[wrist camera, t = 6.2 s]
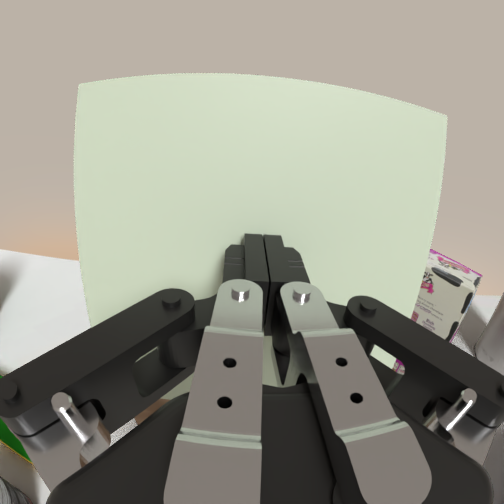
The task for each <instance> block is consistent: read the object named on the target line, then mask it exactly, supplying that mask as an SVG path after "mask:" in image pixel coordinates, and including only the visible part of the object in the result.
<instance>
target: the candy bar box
mask: <svg viewBox="0 0 504 504" xmlns="http://www.w3.org/2000/svg"><path fill="white" fill-rule="evenodd" d="M481 278H482V275H481V274H479V273H477V272H475V271H473V270H471V269H469V268H467V267H466V266H464V265H462V264H460V263H458V262H456V261H454V260H452V259H450V258H448V257H446V256H444V255H442V254H440V253H438V252H436V251H434V250H432V249H430V252H429V256H428V260H427V264H426V268H425V272H424V276H423V280H422V283H421V287H420V290H419V294H418V297H417V301H416V304H415V307H414V310H413V314H412V317H411V320H413V321H415V322H416V323H418V324H420V325H421V326H423V327H425V328H426V329H428V330H430V331H431V332H433V333H435V334H436V335H438V336H440V337H441V338H443V339H445V340H447V341H448V342H450V343H451V342H452V340H453V338H454V336H455V334H456V332H457V330H458V328H459V326H460V324H461V323H462V321H463V319H464V317H465V314H466V312H467V310H468V308H469V306H470V304H471V302H472V299H473V297H474V295H475V293H476V291H477V288H478V286H479V284H480V281H481ZM392 370H394V371H395V372H397V373H399V374H404V372H405V368H404V365H403V364H402V362H401V361H399V360H398V359H396V361H395V363H394V366H393V368H392Z"/></svg>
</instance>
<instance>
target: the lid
mask: <svg viewBox="0 0 504 504" xmlns="http://www.w3.org/2000/svg"><path fill="white" fill-rule="evenodd" d="M446 135H447V116H446V115H444V114H441V113H438V112H435V111H432V110H429V109H426V108H423V107H420V106H417V105H413V104H410V103H407V102H404V101H400V100H396V99H393V98H389V97H385V96H382V95H378V94H374V93H369V92H365V91H361V90H356V89H351V88H346V87H341V86H336V85H331V84H324V83H318V82H312V81H305V80H298V79H290V78H282V77H272V76H261V75H246V74H223V73H222V74H221V73H184V74H183V73H182V74H161V75H146V76H135V77H124V78H116V79H108V80H101V81H95V82H89V83H83V84H79V88H78V98H77V108H76V120H75V139H74V199H75V218H76V232H77V242H78V252H79V260H80V268H81V275H82V282H83V288H84V294H85V300H86V305H87V311H88V316H89V320H90V325H91V328H92V327H94V326H95V325H97V324H99V323H101V322H103V321H105V320H106V319H108V318H110V317H112V316H114V315H116V314H117V313H119V312H121V311H123V310H125V309H127V308H128V307H130V306H132V305H134V304H136V303H138V302H139V301H141V300H143V299H145V298H147V297H149V296H151V295H152V294H154V293H156V292H158V291H160V290H163V289H169V288H177V289H182V290H185V291H187V292H189V293H190V294H191V295H192V296H193V297H194V300H200V299H205V298H209V297H211V296H214V295H215V294H217V293H218V289H219V287H220V286H221V285H222V280H223V269H224V259H225V250H226V249H227V248H228V247H229V246H230V245H231V244H236V245H244V234H245V233H248V234H262V236H263V234H267V235H281V237H282V240H283V244H284V247H293V248H294V249H295V250H297V251H298V252H299V253H300V255H301V257H302V260H303V263H304V266H305V269H306V272H307V274H308V277H309V280H310V283H311V284H312V285H314V286H315V287H317V288H318V289H319V290H320V291H321V292H322V294H323V296H324V298H325V300H326V301H328V302H331V303H335V304H339V305H344V306H347V303H348V301H349V299H350V298H352V297H354V296H360V295H362V296H369V297H372V298H375V299H377V300H379V301H380V302H382V303H384V304H386V305H387V306H389V307H391V308H392V309H394V310H396V311H398V312H399V313H401V314H403V315H404V316H406V317H408V318H409V319H411V317H412V314H413V310H414V307H415V304H416V301H417V297H418V294H419V290H420V287H421V283H422V280H423V276H424V272H425V268H426V264H427V260H428V256H429V252H430V247H431V242H432V238H433V233H434V228H435V223H436V218H437V212H438V206H439V200H440V193H441V186H442V178H443V170H444V159H445V148H446ZM271 346H272V336H264V330H263V378H262V384H265V385H270V386H275V387H278V386H277V381H276V376H275V371H274V367H273V362H272V357H271ZM156 348H157V347H156ZM156 348H154V349H153V350H155V349H156ZM153 350H151V351H150V352H152V351H153ZM150 352H148V353H146V354H145V355H143V356H142V357H140V358H139V359H138V360H140V359H141V358H143V357H144V356H146V355H147V354H149V353H150ZM370 355H371V356H373V357H374V358H376V359H377V360H379V361H380V362H382V363H383V364H385V365H386V366H388V367H389V368H391V369H392V368H393V366H394V363H395V361H396V358H395V357H393V356H392V355H390V354H389V353H387V352H386V351H384V350H383V349H381V348H379V347H378V346H376V345H374V348H373V350H372V352H371V354H370ZM138 360H137V361H138ZM137 361H136V362H137ZM193 375H194V373H193V374H191V375H190V376H189V377H188V378H186V379H185V380H184V381H182V382H181V383H180V384H178V385H177V386H176V387H175V388H173V389H172V390H171V391H169V392H168V393H167V394H165V395H164V396H163V397H161V399H169V400H171V399H173V398H175V397H177V396H179V395H181V394H184V393H187V392H190V388H191V384H192V380H193Z"/></svg>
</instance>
